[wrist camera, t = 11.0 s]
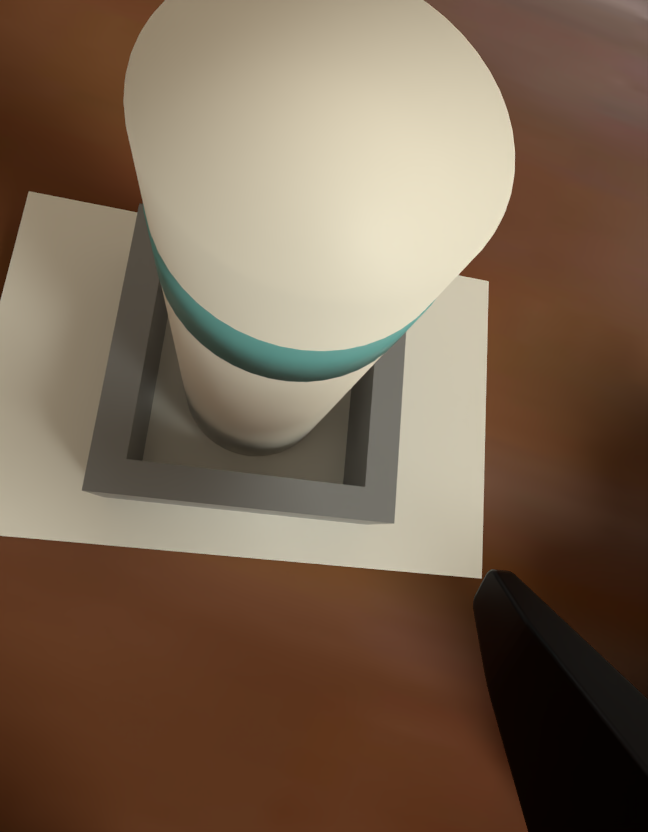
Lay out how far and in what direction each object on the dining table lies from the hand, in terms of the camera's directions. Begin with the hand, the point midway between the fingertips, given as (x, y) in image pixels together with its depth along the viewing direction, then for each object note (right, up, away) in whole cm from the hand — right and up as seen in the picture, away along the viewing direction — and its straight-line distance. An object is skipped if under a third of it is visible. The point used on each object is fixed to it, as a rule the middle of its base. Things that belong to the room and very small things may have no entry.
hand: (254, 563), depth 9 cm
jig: (-1, +3, +11) cm, 11 cm away
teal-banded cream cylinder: (-1, +4, +10) cm, 10 cm away
